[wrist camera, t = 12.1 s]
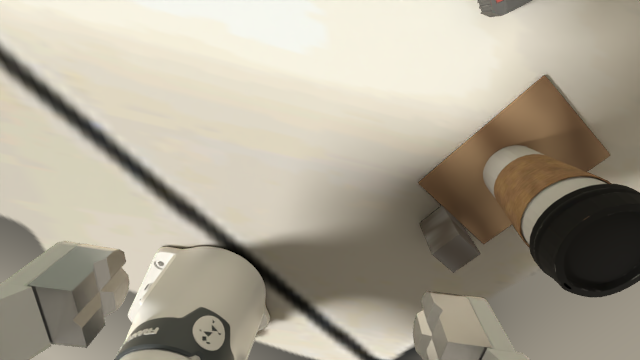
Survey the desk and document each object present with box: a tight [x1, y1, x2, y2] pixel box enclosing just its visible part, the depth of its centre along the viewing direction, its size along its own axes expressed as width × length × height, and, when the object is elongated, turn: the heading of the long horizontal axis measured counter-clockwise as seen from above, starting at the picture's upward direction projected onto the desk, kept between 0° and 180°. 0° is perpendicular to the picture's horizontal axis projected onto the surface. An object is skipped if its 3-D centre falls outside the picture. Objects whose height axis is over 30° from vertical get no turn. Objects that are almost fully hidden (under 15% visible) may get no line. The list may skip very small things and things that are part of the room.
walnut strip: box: [418, 76, 610, 273], centre depth 34 cm, size 20×12×6 cm, turn 138°
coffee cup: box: [483, 145, 640, 297], centre depth 29 cm, size 8×8×15 cm
